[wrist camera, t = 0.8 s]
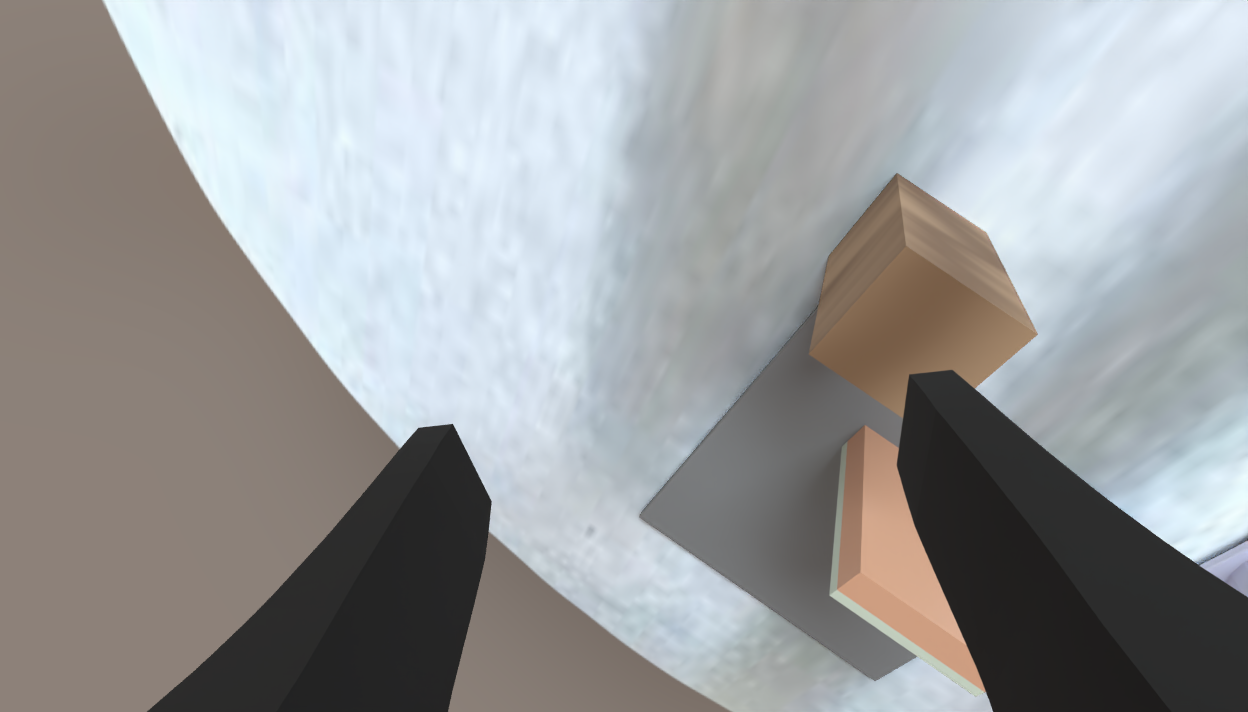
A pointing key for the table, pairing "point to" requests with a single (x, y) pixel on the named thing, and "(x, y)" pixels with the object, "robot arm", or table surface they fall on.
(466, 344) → the table surface
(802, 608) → the rubber mat
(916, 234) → the wooden block
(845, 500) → the flat slab
